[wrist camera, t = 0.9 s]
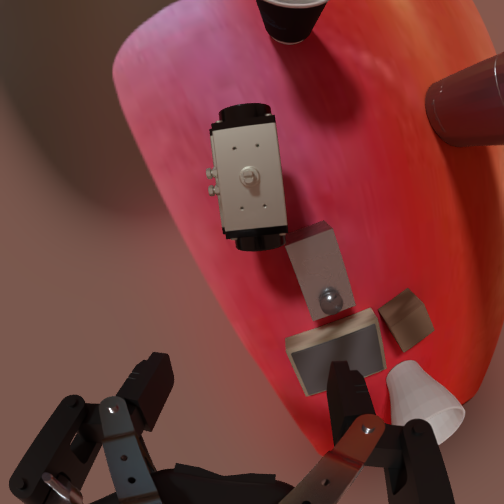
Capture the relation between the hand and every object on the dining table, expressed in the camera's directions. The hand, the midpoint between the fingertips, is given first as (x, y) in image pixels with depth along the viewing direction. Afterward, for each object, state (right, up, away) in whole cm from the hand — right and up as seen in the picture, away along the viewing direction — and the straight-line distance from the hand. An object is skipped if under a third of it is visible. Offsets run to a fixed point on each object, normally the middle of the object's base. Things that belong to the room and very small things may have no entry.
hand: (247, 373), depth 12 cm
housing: (+8, +5, +20) cm, 22 cm away
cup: (+24, -14, +24) cm, 37 cm away
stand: (+12, -8, +23) cm, 27 cm away
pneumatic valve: (+1, +14, +18) cm, 23 cm away
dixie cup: (+5, +32, +12) cm, 35 cm away
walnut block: (+20, -2, +21) cm, 29 cm away
